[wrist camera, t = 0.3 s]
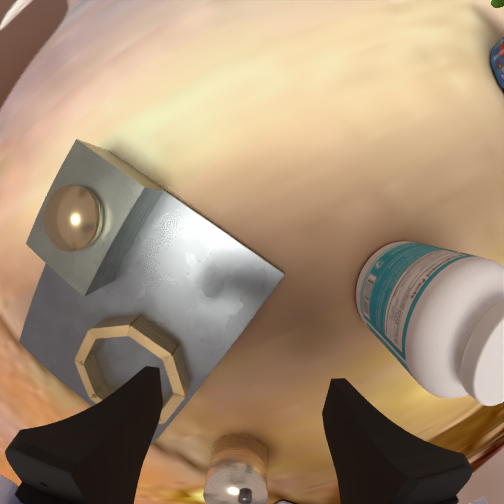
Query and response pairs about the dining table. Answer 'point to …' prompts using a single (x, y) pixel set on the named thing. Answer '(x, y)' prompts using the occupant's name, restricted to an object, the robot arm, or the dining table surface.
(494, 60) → the snack cup
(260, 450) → the spout can
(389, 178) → the dining table surface
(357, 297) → the pill bottle
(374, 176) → the dining table surface
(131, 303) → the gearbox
